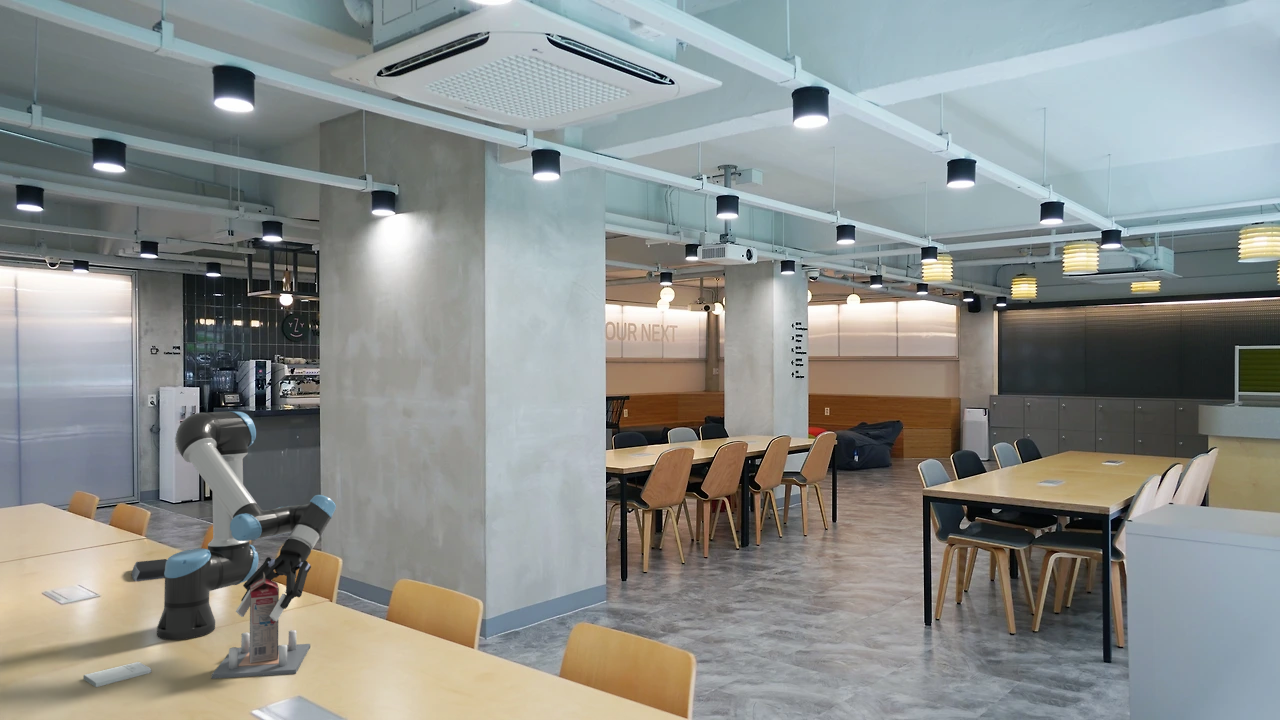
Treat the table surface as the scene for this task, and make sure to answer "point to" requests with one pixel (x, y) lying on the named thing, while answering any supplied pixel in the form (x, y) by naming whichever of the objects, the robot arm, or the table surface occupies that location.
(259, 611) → the juice carton
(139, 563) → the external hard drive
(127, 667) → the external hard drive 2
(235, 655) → the peg stand
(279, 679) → the table surface
